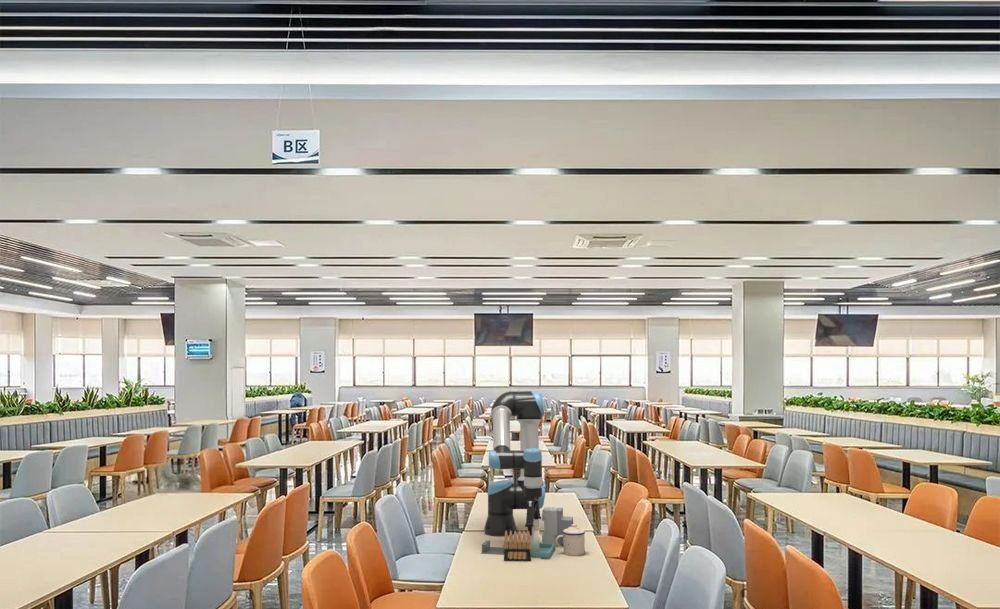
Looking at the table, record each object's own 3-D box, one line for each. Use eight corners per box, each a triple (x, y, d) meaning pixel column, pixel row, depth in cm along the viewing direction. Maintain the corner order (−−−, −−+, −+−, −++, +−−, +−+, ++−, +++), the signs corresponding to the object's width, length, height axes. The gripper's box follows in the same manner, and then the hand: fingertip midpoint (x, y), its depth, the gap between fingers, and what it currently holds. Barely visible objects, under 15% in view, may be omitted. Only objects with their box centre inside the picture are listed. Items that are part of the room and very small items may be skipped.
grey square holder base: (487, 547, 317) (487, 539, 317) (512, 548, 315) (512, 540, 315) (480, 554, 305) (480, 545, 306) (506, 555, 303) (506, 547, 303)
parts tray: (518, 548, 316) (518, 542, 316) (555, 549, 313) (555, 543, 313) (511, 557, 301) (510, 551, 301) (549, 559, 297) (549, 553, 298)
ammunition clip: (531, 561, 295) (530, 530, 296) (530, 562, 293) (530, 531, 294) (504, 560, 296) (503, 529, 297) (503, 562, 294) (503, 530, 295)
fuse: (528, 549, 310) (528, 525, 311) (540, 550, 309) (540, 525, 310) (526, 552, 305) (526, 527, 306) (538, 553, 304) (538, 528, 305)
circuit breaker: (575, 547, 316) (575, 511, 318) (542, 546, 319) (541, 510, 320) (577, 543, 324) (576, 508, 325) (544, 542, 327) (544, 507, 328)
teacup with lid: (583, 550, 312) (583, 521, 312) (586, 555, 302) (586, 526, 303) (554, 550, 311) (554, 522, 312) (557, 556, 302) (556, 526, 303)
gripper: (529, 481, 322) (529, 531, 320) (518, 491, 298) (518, 546, 296) (546, 482, 320) (547, 532, 319) (536, 492, 296) (537, 547, 294)
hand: (533, 539), depth 307 cm, fingers open, 13 cm apart
